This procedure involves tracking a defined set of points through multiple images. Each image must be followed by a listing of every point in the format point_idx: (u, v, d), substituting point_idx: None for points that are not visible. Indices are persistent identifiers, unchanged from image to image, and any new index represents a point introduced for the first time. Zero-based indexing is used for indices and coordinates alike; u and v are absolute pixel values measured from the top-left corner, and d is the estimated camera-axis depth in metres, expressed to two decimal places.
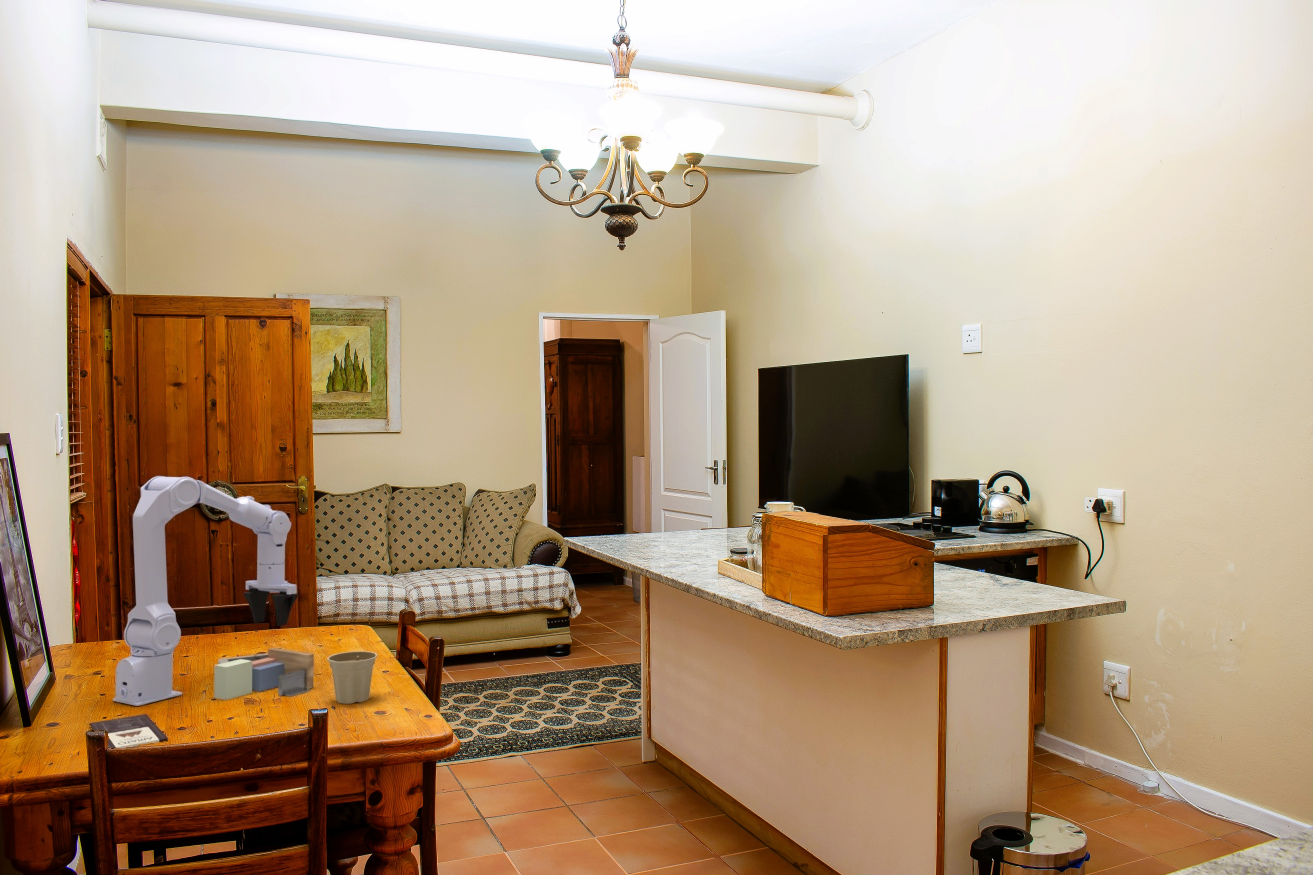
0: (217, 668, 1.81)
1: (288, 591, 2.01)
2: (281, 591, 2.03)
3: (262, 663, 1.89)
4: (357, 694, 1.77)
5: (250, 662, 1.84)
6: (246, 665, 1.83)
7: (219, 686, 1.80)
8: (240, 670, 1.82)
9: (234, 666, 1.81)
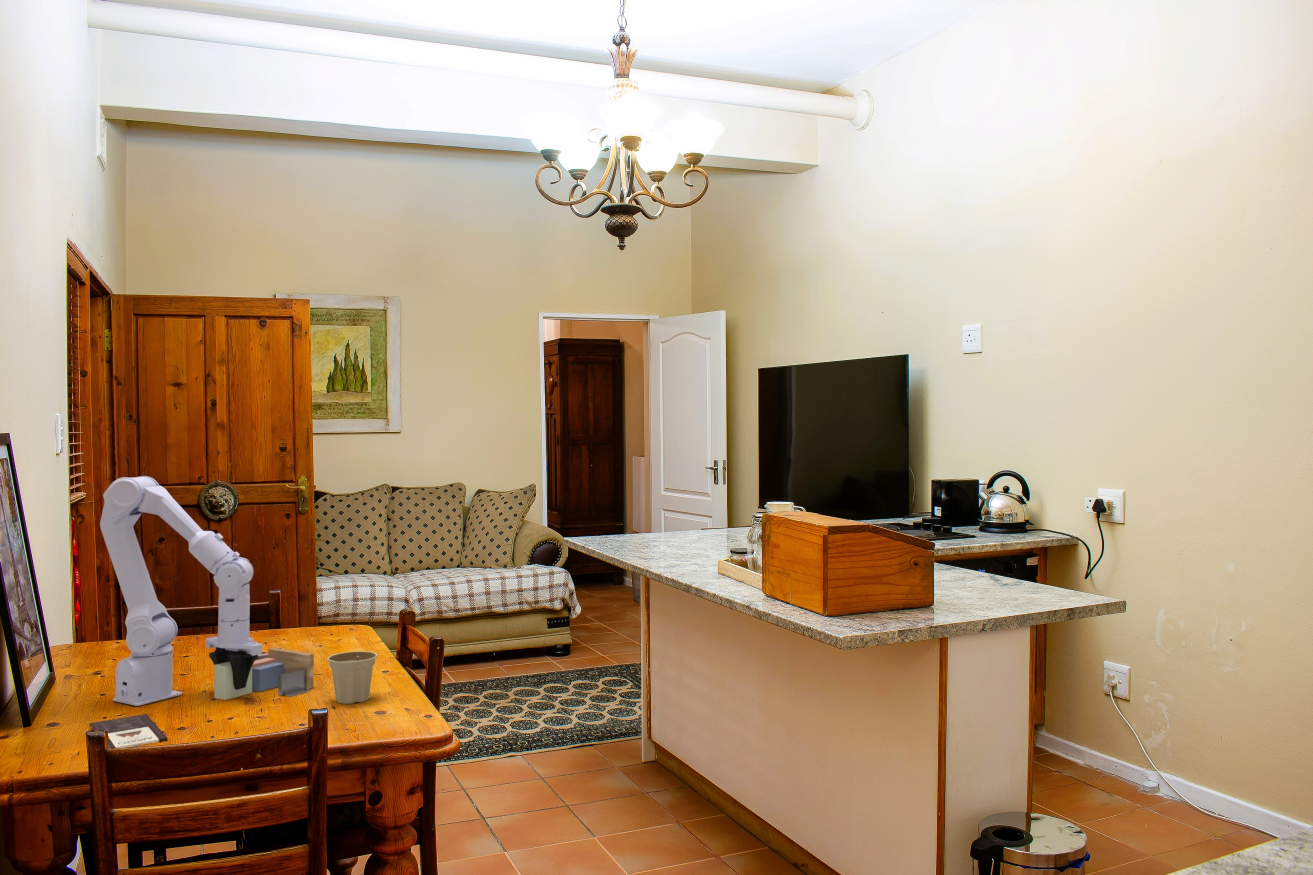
0: (217, 668, 1.81)
1: (252, 652, 1.79)
2: (245, 651, 1.80)
3: (262, 663, 1.89)
4: (357, 694, 1.77)
5: None
6: None
7: (219, 686, 1.80)
8: None
9: None
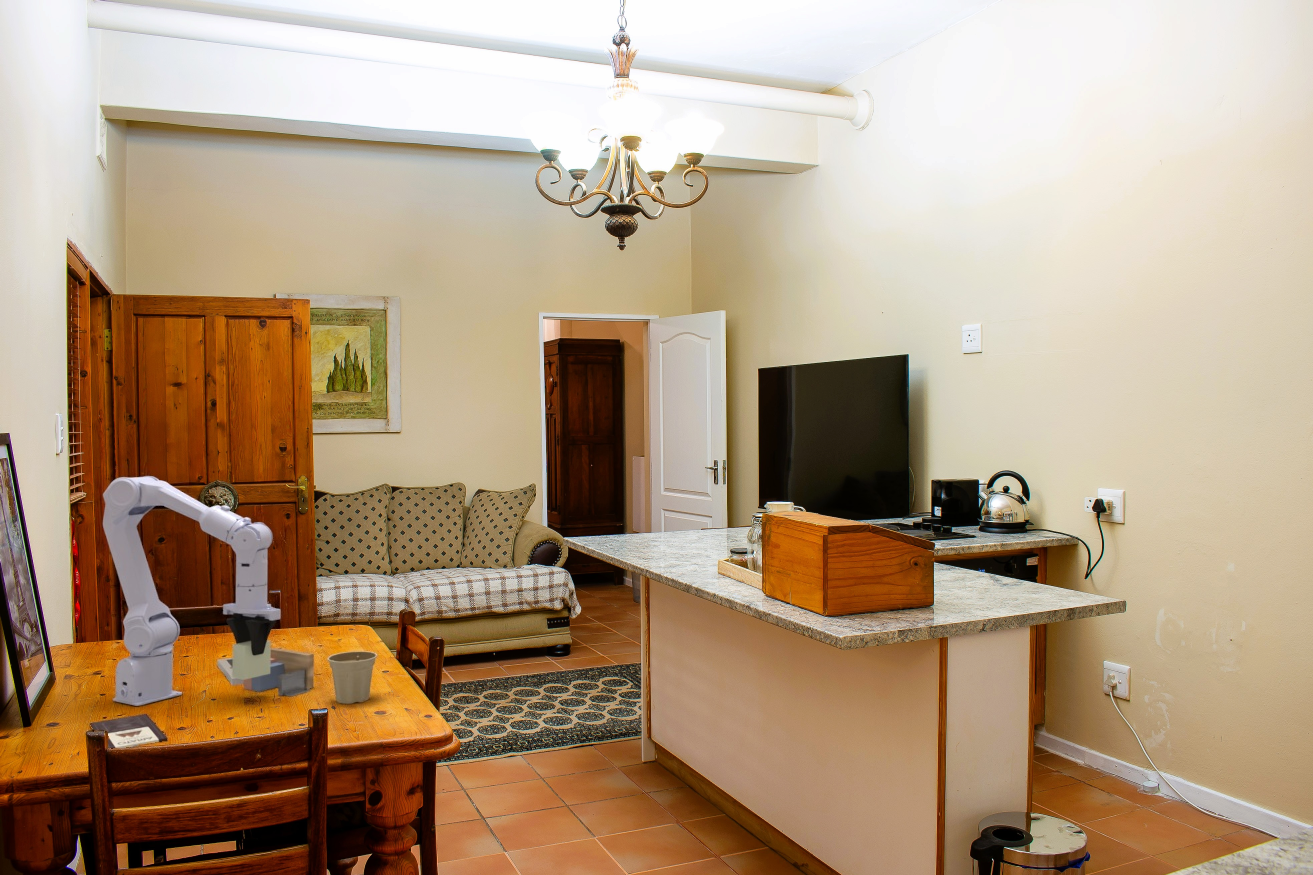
0: (235, 647, 1.78)
1: (271, 617, 1.76)
2: (263, 616, 1.78)
3: None
4: (357, 694, 1.77)
5: (269, 642, 1.82)
6: None
7: (237, 666, 1.78)
8: None
9: None
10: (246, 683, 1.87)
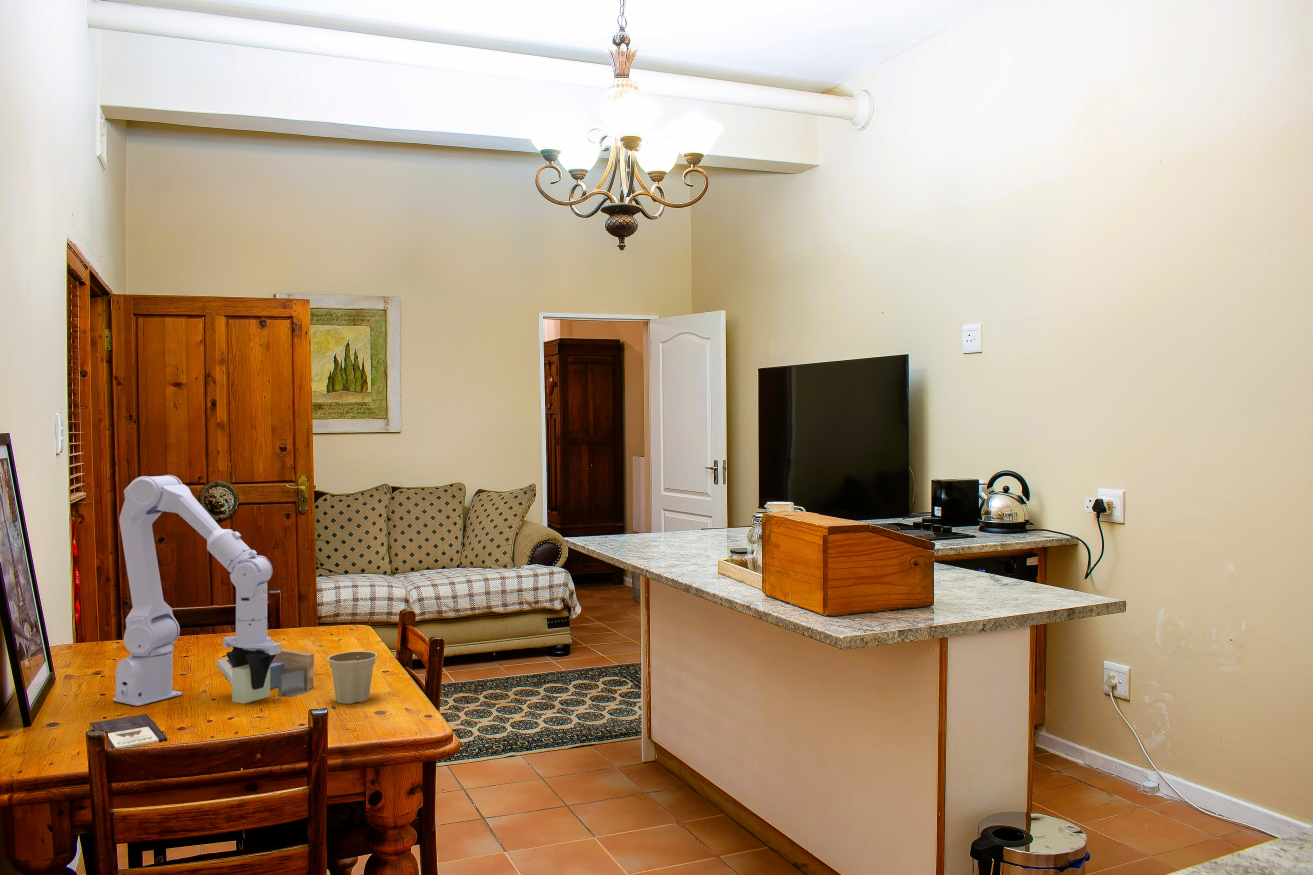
0: (234, 671, 1.78)
1: (271, 651, 1.76)
2: (263, 651, 1.78)
3: None
4: (357, 694, 1.77)
5: None
6: None
7: (237, 690, 1.78)
8: None
9: None
10: None
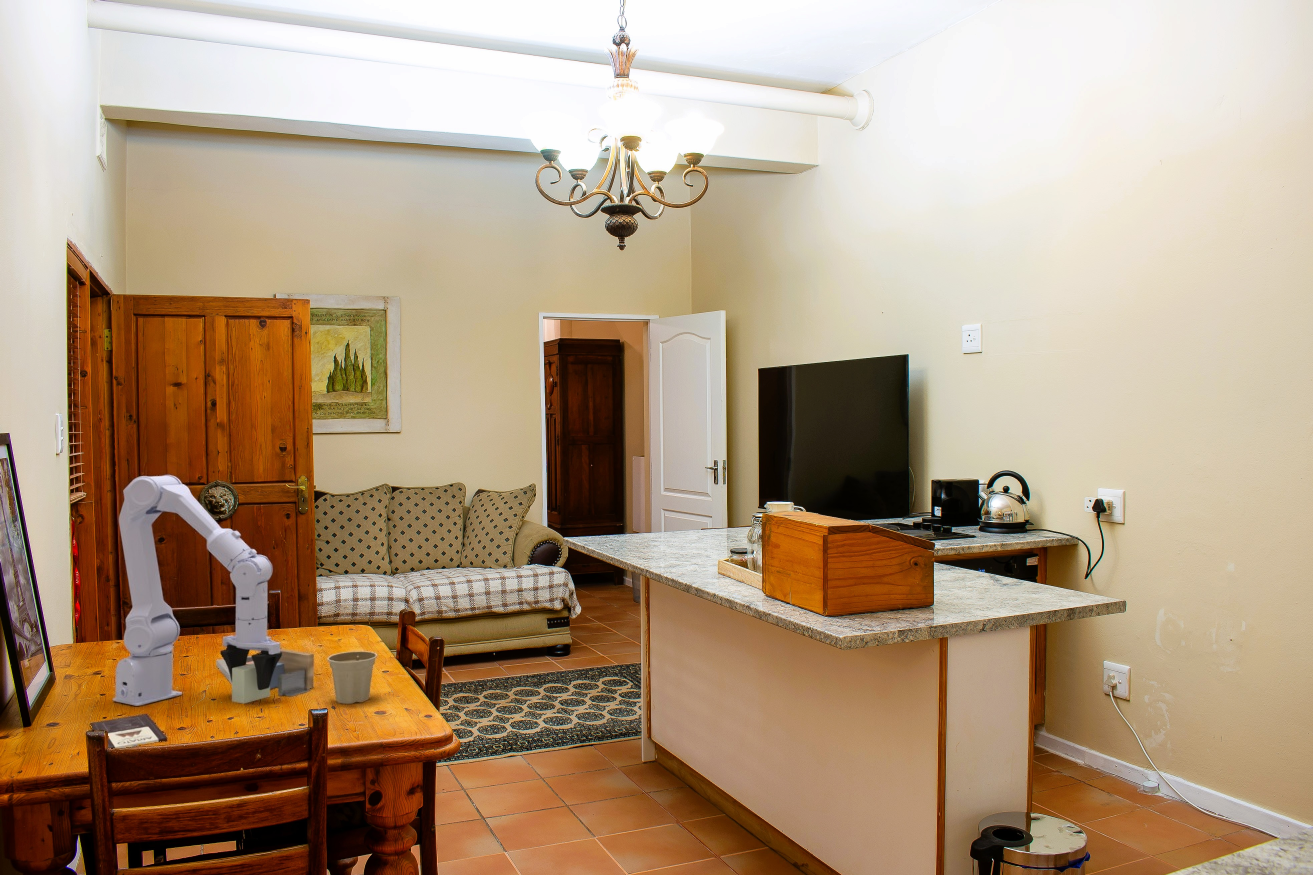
0: (234, 671, 1.78)
1: (270, 651, 1.76)
2: (263, 650, 1.78)
3: None
4: (357, 694, 1.77)
5: None
6: None
7: (236, 690, 1.78)
8: None
9: (252, 669, 1.78)
10: None
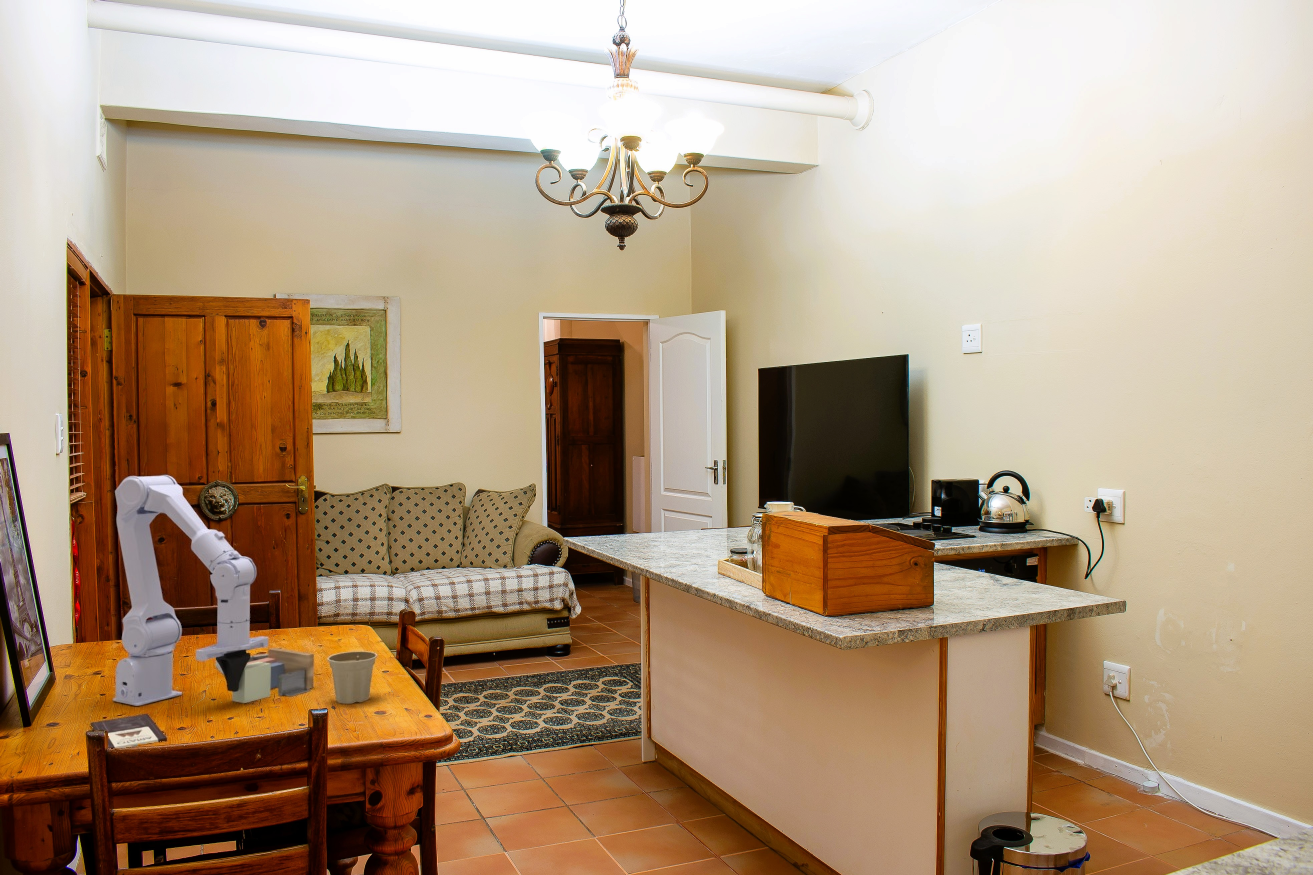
0: None
1: None
2: None
3: None
4: (357, 694, 1.77)
5: (269, 665, 1.82)
6: (264, 668, 1.81)
7: None
8: (259, 672, 1.80)
9: (253, 669, 1.79)
10: None
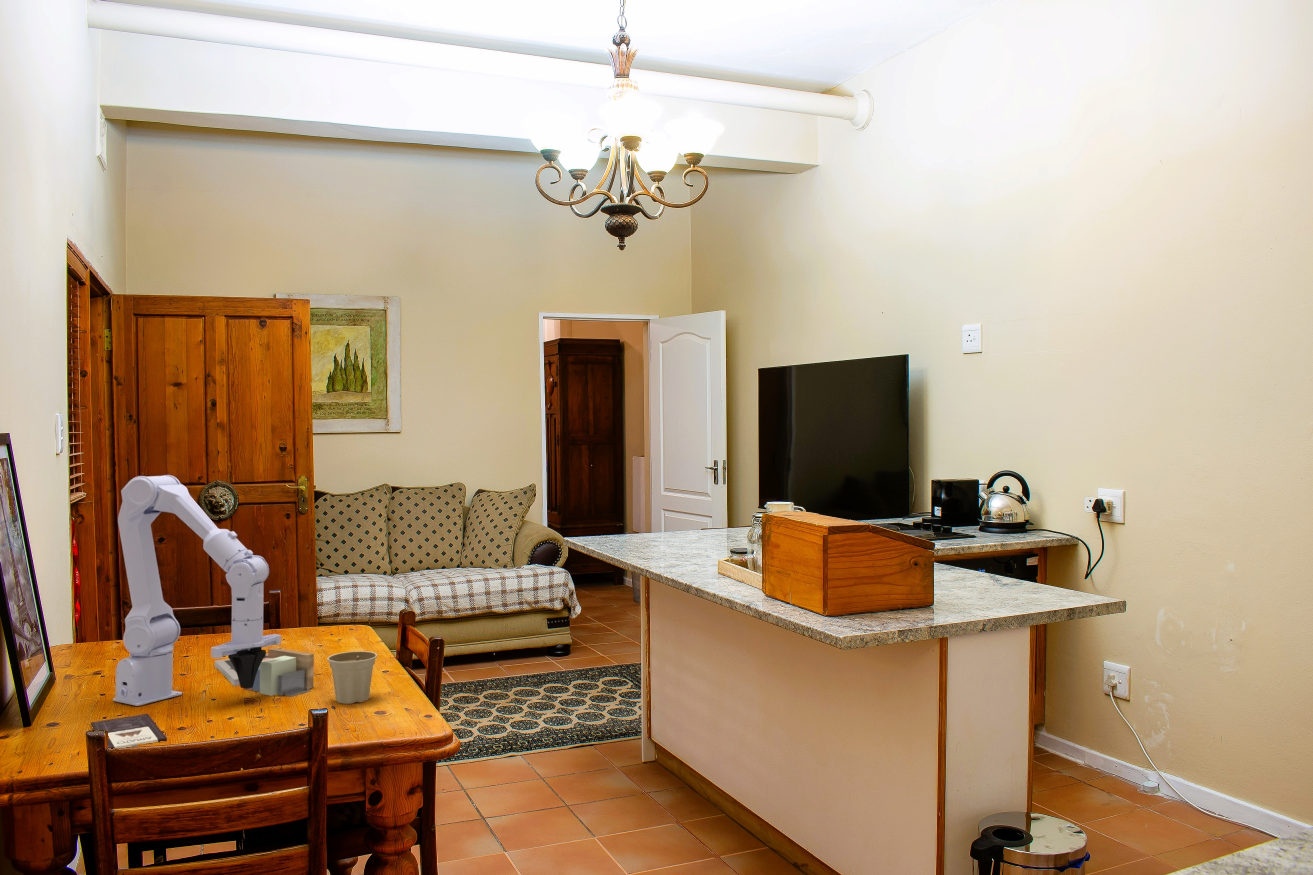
0: (262, 664, 1.84)
1: None
2: None
3: None
4: (357, 694, 1.77)
5: (294, 658, 1.87)
6: (290, 662, 1.86)
7: (264, 682, 1.83)
8: (285, 666, 1.85)
9: (279, 662, 1.84)
10: None
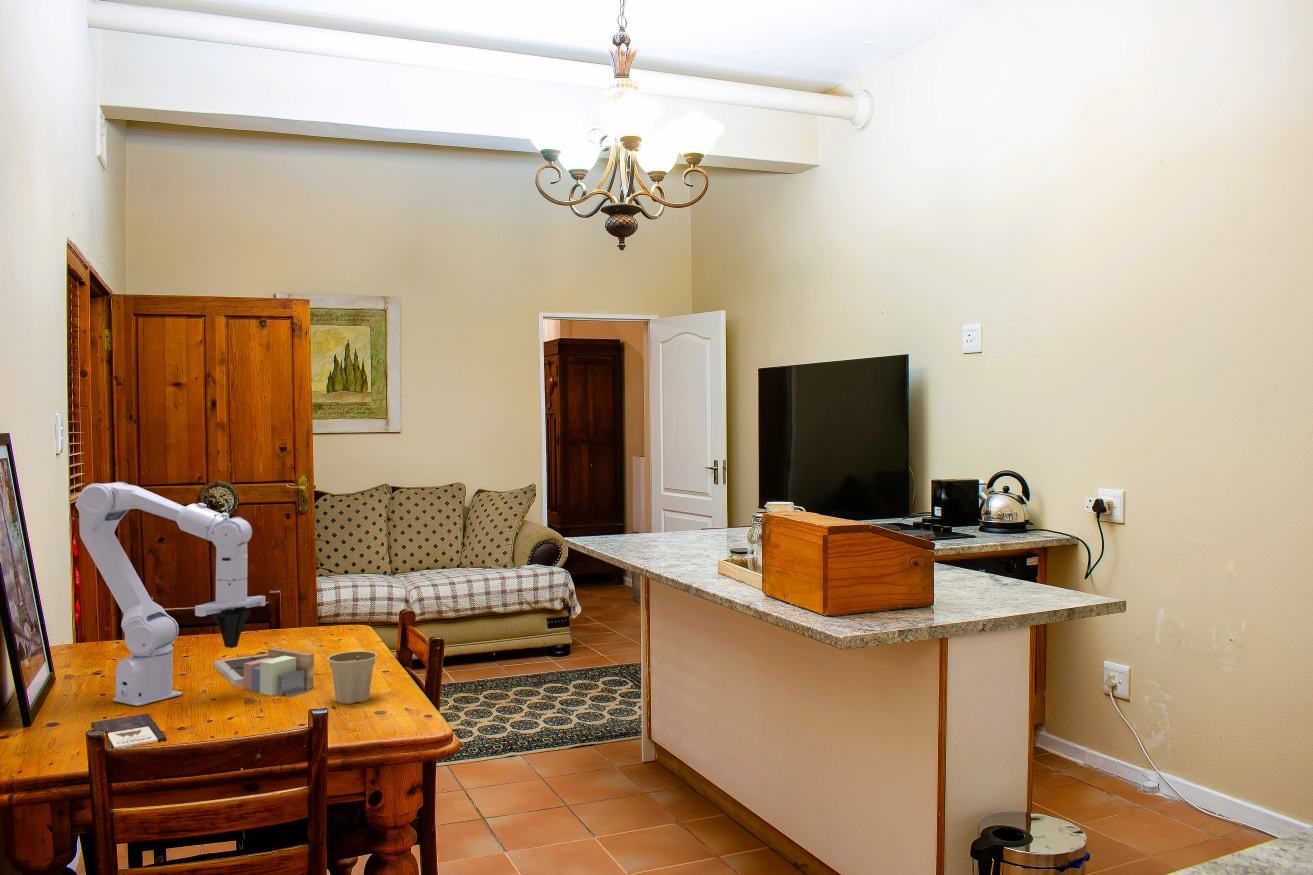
0: (262, 664, 1.84)
1: None
2: None
3: None
4: (357, 694, 1.77)
5: (294, 659, 1.87)
6: (290, 662, 1.86)
7: (264, 682, 1.83)
8: (285, 666, 1.85)
9: (279, 662, 1.84)
10: (246, 683, 1.87)
